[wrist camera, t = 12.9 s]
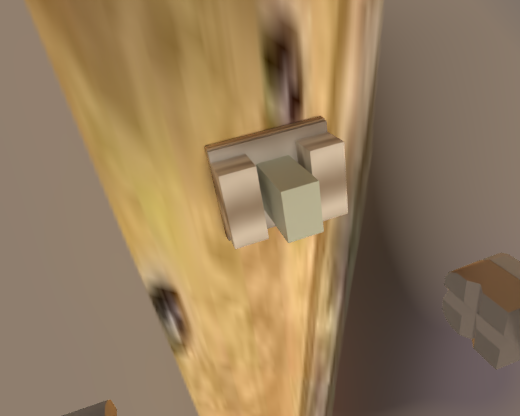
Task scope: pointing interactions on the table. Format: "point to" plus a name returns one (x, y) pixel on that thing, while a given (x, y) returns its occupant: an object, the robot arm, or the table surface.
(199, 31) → the table surface
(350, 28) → the table surface
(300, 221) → the block
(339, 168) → the rail board
